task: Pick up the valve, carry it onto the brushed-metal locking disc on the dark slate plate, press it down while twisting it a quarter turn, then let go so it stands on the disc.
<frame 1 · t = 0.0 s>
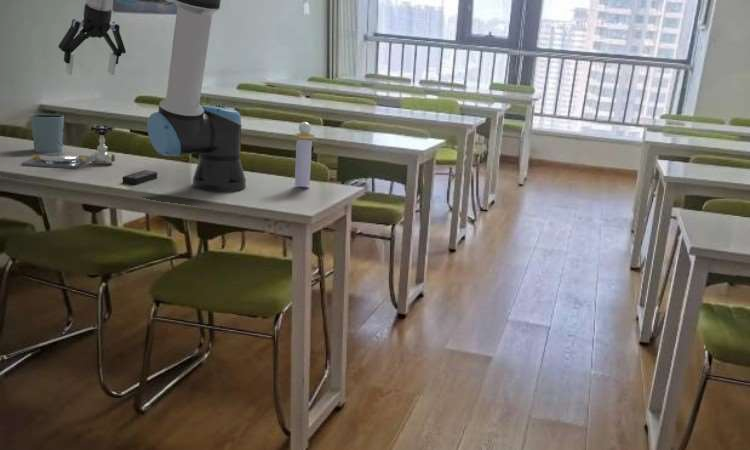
hand: (90, 73, 204), 28 cm above the table, tool tilted 20°, fingers open, 13 cm apart
perfume bottle: (302, 188, 199), on the table
blue-grey cup: (49, 151, 222), on the table
lock plate: (59, 162, 206), on the table
valve: (102, 164, 208), on the table
multiport hub: (140, 182, 192), on the table
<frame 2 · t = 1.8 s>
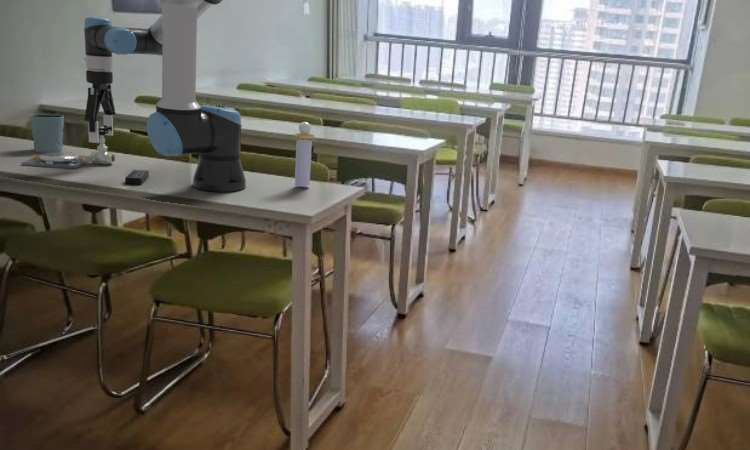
hand: (101, 138, 206), 8 cm above the table, tool pointing down, fingers open, 13 cm apart
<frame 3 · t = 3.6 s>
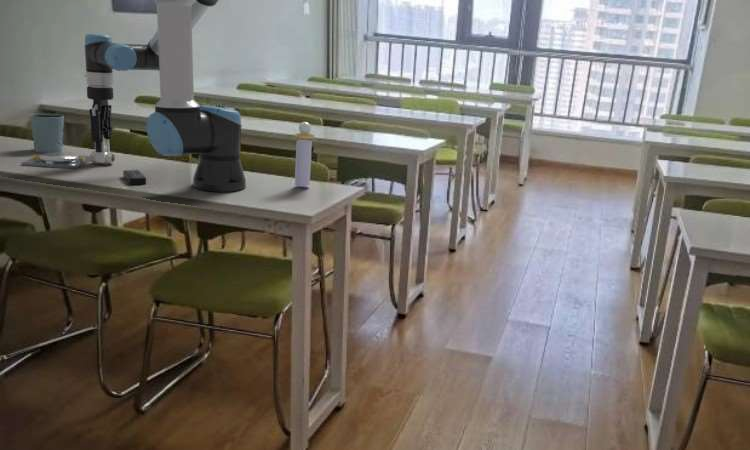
hand: (102, 160, 208), 1 cm above the table, tool pointing down, fingers closed on valve, 4 cm apart
valve: (102, 164, 208), on the table, touching gripper
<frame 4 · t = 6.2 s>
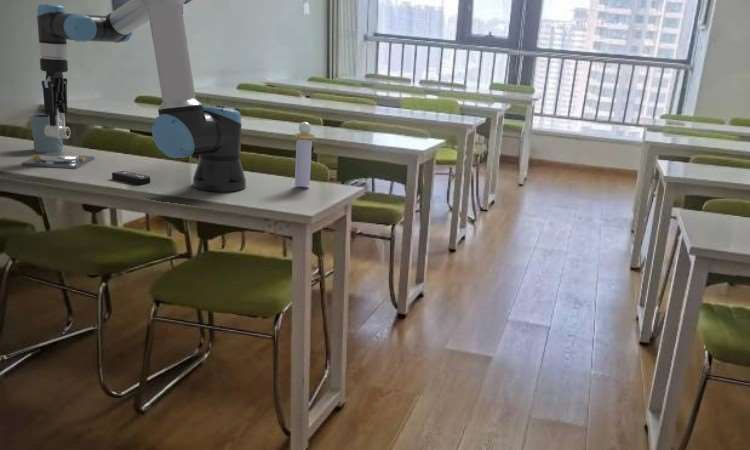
hand: (57, 134, 204), 9 cm above the table, tool pointing down, fingers closed on valve, 4 cm apart
valve: (57, 139, 204), point 7 cm above the table, touching gripper
multiport hub: (131, 183, 190), on the table
everything else where it was.
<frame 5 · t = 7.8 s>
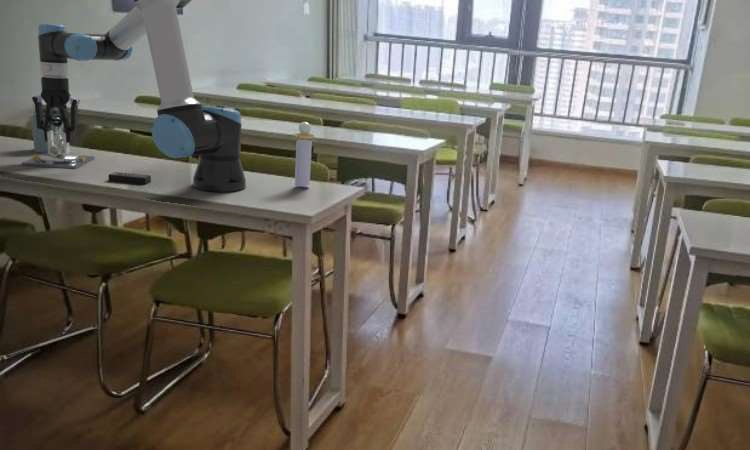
hand: (59, 152, 205), 3 cm above the table, tool pointing down, fingers closed on valve, 4 cm apart
valve: (59, 156, 206), point 2 cm above the table, touching gripper, lock plate
when the fingers open (3 cm above the table, at t = 8.7 s): valve stays where it is, resting on lock plate.
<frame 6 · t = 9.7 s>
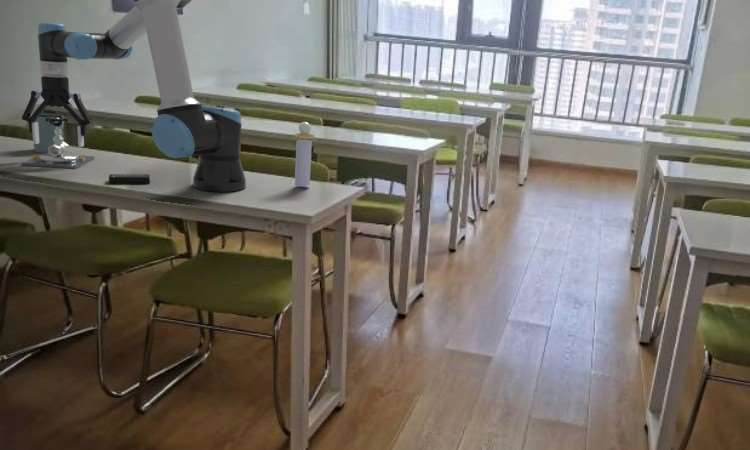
hand: (58, 145, 205), 5 cm above the table, tool pointing down, fingers open, 13 cm apart
valve: (59, 156, 206), point 2 cm above the table, touching lock plate
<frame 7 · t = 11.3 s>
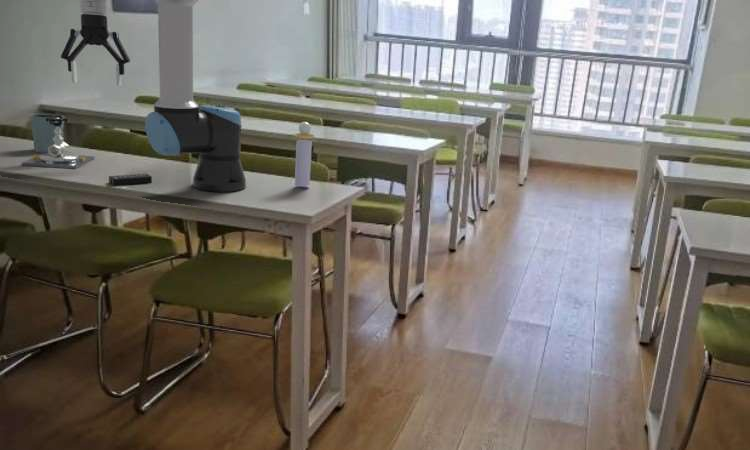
hand: (97, 84, 208), 24 cm above the table, tool pointing down, fingers open, 13 cm apart
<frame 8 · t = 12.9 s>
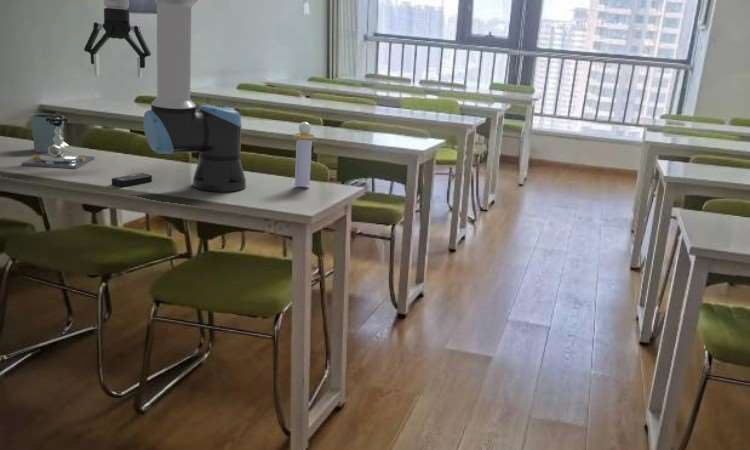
hand: (118, 76, 212), 27 cm above the table, tool pointing down, fingers open, 13 cm apart
at the end: valve inside the target area on the lock plate (0.0 cm from its centre), point 1.8 cm above the lock plate's base; valve tilted 0°; the gripper is holding nothing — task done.
